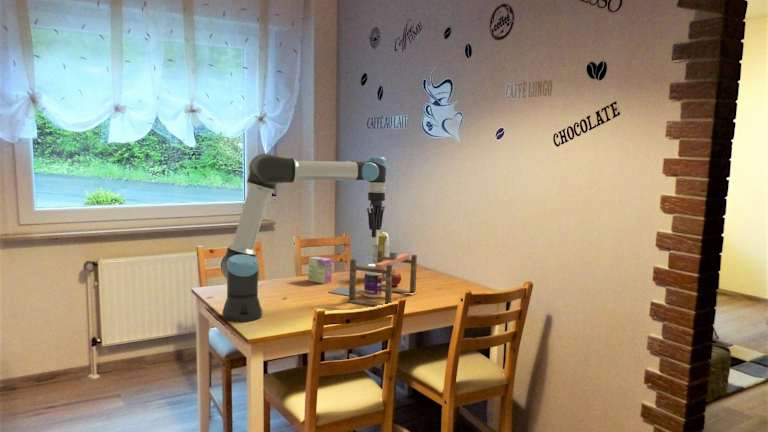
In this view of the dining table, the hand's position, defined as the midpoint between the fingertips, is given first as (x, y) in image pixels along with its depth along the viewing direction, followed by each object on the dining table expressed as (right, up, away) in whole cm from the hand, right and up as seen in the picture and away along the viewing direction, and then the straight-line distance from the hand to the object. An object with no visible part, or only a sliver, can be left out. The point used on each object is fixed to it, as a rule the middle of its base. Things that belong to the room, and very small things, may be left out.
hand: (374, 244), depth 260 cm
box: (-28, -20, +28) cm, 44 cm away
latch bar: (+8, -8, -3) cm, 12 cm away
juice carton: (+2, -20, +38) cm, 43 cm away
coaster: (-13, -23, +9) cm, 28 cm away
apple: (+9, -22, +24) cm, 34 cm away
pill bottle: (-1, -24, +3) cm, 24 cm away
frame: (+4, -24, +1) cm, 25 cm away
